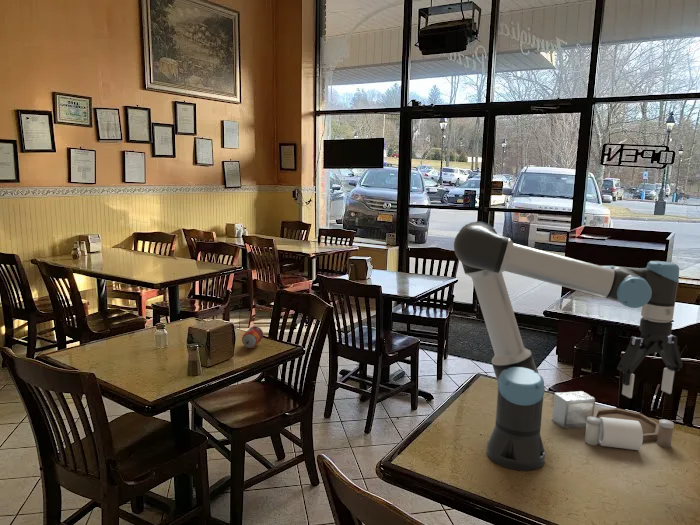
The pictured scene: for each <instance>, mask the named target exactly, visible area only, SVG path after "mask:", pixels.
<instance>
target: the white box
mask: <svg viewBox="0 0 700 525" xmlns="http://www.w3.org/2000/svg"><path fill="white" fill-rule="evenodd" d="M553 398H554V399H553V406H552V418H551V420H552V421H553V422H554V423H555V424H557V425H558V426H559V427H560V428H562V429H574V428H576V429H577V428H586V424H587V417H593V416H594V412H595V406H596V398H595V397H594V396H592V395H590V394H589V393H587V392H584V391H583V390H579V391H567V392H566V391H565V392H564V391H563V392H554V397H553Z"/></svg>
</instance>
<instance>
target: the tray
mask: <svg viewBox="0 0 700 525" xmlns="http://www.w3.org/2000/svg"><path fill="white" fill-rule="evenodd" d="M593 417H596V418H600V417H607V418H616V419H625V420H634V421H639V422H640V424H641V427H642V432H643V442H646V441H647V442H649V441H657V435H658V427H659V422H656V421H655V420H653V419H651V418H649V417H648V416H646V415H644V414H643V413H639V412H634V411H631V410H626V409H623V408H617V407H611V408H598V409H597V408H596V409H594V416H593Z"/></svg>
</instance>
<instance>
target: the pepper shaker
mask: <svg viewBox="0 0 700 525" xmlns="http://www.w3.org/2000/svg"><path fill="white" fill-rule="evenodd" d="M674 423H675V422H673V421H671V420H668V419H664V418H663V419H659V420H658V424H659V427H658V435H657V440H656V445H657V446H659V447H660V448H661V447H662V448H665V449H670V448H671V447H672V442H673V432H674V426H675V424H674Z"/></svg>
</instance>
